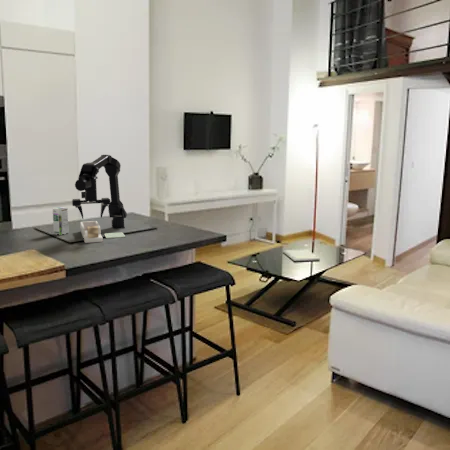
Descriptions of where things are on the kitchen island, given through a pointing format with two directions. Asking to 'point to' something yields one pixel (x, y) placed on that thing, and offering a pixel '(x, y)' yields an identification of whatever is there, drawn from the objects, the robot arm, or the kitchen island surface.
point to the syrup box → (60, 220)
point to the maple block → (92, 231)
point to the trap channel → (85, 234)
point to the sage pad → (114, 235)
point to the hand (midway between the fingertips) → (92, 218)
